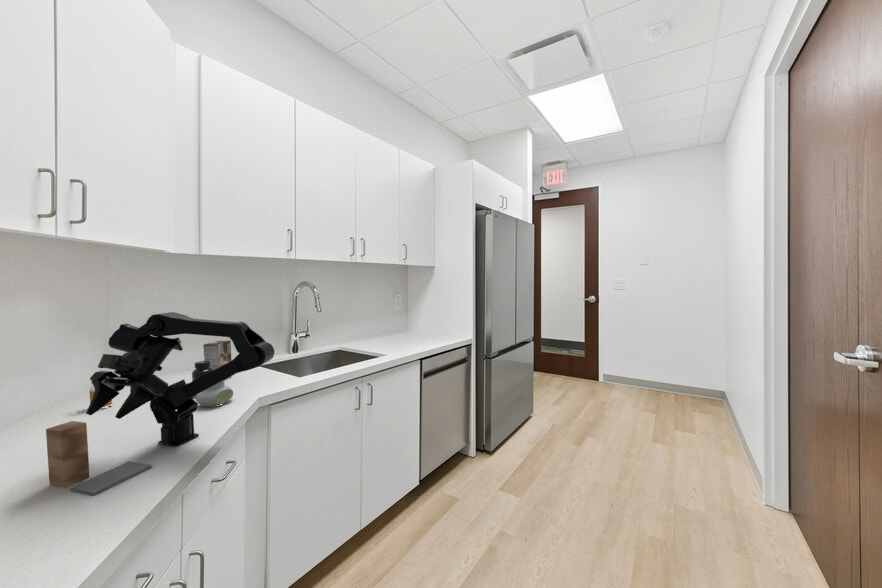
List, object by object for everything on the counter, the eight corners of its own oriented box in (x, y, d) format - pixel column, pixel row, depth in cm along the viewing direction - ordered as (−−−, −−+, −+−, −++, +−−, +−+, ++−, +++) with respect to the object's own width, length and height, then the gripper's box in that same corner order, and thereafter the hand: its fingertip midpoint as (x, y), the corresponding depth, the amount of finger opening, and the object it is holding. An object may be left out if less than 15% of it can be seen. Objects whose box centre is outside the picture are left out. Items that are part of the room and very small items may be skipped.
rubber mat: (129, 463, 84) (128, 461, 84) (151, 467, 83) (151, 464, 82) (69, 490, 74) (69, 487, 74) (94, 495, 72) (94, 492, 72)
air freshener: (210, 410, 118) (209, 380, 118) (191, 408, 120) (189, 378, 120) (237, 399, 129) (236, 371, 128) (219, 397, 131) (218, 370, 131)
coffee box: (218, 376, 160) (216, 340, 159) (232, 376, 160) (231, 340, 159) (204, 382, 151) (202, 344, 150) (220, 382, 151) (218, 344, 150)
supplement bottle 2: (190, 394, 136) (188, 362, 135) (210, 389, 141) (209, 359, 140) (196, 397, 131) (194, 365, 131) (217, 393, 136) (216, 361, 136)
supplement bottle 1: (93, 411, 119) (91, 382, 118) (88, 408, 121) (86, 380, 121) (114, 406, 123) (113, 378, 123) (109, 404, 126) (107, 376, 126)
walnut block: (75, 474, 80) (72, 420, 80) (89, 476, 79) (86, 422, 78) (49, 485, 76) (45, 429, 75) (64, 488, 75) (60, 431, 74)
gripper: (96, 338, 90) (40, 396, 80) (153, 341, 85) (101, 403, 75) (133, 362, 98) (86, 418, 88) (186, 366, 93) (143, 425, 83)
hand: (102, 416), depth 83 cm, fingers open, 9 cm apart
